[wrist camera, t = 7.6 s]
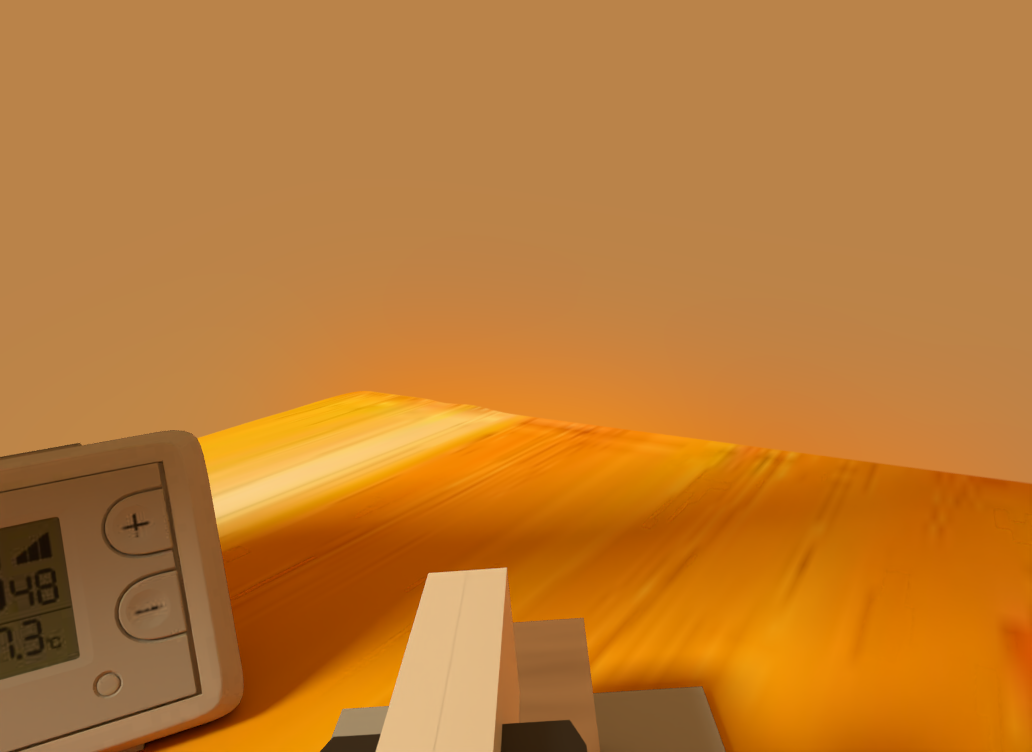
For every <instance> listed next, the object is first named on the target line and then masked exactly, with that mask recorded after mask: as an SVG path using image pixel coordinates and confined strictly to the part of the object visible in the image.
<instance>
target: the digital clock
mask: <svg viewBox="0 0 1032 752" xmlns="http://www.w3.org/2000/svg"><path fill="white" fill-rule="evenodd" d="M243 689H244V680H243V672H242V665H241V659H240V653H239V648H238V642H237V636H236V631H235V625H234V620H233V614H232V608H231V603H230V597H229V591H228V586H227V580H226V575H225V569H224V563H223V558H222V552H221V546H220V541H219V535H218V529H217V524H216V518H215V513H214V507H213V501H212V496H211V490H210V484H209V479H208V474H207V469H206V464H205V460H204V455H203V452H202V449H201V445H200V443H199V441H198V439H197V438H196V437H195V436H194V435H193V434H191V433H188V432H185V431H177V430H170V431H162V432H155V433H150V434H144V435H139V436H133V437H127V438H122V439H116V440H111V441H105V442H99V443H94V444H88V445H83V446H82V445H81V444H80V443H77V444H71V445H65V446H60V447H54V448H48V449H43V450H37V451H32V452H27V453H20V454H15V455H9V456H4V457H0V752H138V751H141V750H143V749H144V748H145V743H147V742H150V741H153V740H156V739H159V738H162V737H165V736H168V735H171V734H174V733H177V732H180V731H183V730H186V729H189V728H193V727H196V726H199V725H202V724H205V723H208V722H211V721H213V720H216V719H218V718H221V717H223V716H224V715H226V714H228V713H229V712H231V711H232V710H234V709H235V708H236V707H237V706H238V705H239V703H240V701H241V699H242V696H243Z"/></svg>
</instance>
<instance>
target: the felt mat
mask: <svg viewBox="0 0 1032 752" xmlns="http://www.w3.org/2000/svg"><path fill="white" fill-rule="evenodd" d="M593 697H594V705H595V713H596V721H597V729H598V737H599V745H600V752H726V751H725V748H724V745H723V743H722V740H721V737H720V734H719V732H718V729H717V726H716V723H715V721H714V718H713V715H712V712H711V709H710V707H709V704H708V701H707V698H706V696H705V693H704V690H703V687H702V686H701V687H685V688H669V689H653V690H637V691H622V692H606V693H593ZM388 708H389V706H384V707H368V708H353V709H343V710H342V712H341V715H340V717H339V720H338V722H337V725H336V728H335V730H334V733H333V735H332V738H333V737H337V736H354V735H370V734H381V732H382V728H383V725H384V722H385V718H386V715H387V711H388ZM332 738H331V739H332Z"/></svg>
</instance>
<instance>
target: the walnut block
mask: <svg viewBox="0 0 1032 752" xmlns="http://www.w3.org/2000/svg"><path fill="white" fill-rule="evenodd" d="M513 632H514V642H515V652H516V662H517V671H518V681H519V691H520V703H519V723H525V722H541V721H557V720H570V721H571V722H572V724H573V725H574V727H575V728H576V730H577V731H578V733H579V734H580V736H581V737H582V739H583V740H584V742H585V743H586V745H587V752H600V745H599V737H598V729H597V721H596V713H595V705H594V697H593V689H592V681H591V673H590V666H589V658H588V650H587V642H586V634H585V626H584V618H575V619H560V620H545V621H531V622H516V623H513Z"/></svg>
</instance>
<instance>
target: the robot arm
mask: <svg viewBox="0 0 1032 752" xmlns="http://www.w3.org/2000/svg"><path fill="white" fill-rule="evenodd" d="M519 703H520V691H519V681H518V671H517V662H516V652H515V642H514V632H513V622H512V613H511V603H510V593H509V583H508V573H507V568H494V569H480V570H466V571H452V572H438V573H428V576H427V579H426V583H425V586H424V590H423V593H422V596H421V600H420V603H419V607H418V610H417V613H416V617H415V620H414V623H413V627H412V630H411V634H410V637H409V640H408V644H407V647H406V651H405V654H404V657H403V661H402V664H401V667H400V671H399V674H398V678H397V681H396V684H395V688H394V691H393V695H392V698H391V701H390V705H389V708H388V711H387V715H386V718H385V722H384V725H383V728H382V732H381V734H370V735H354V736H337V737H333V738H332V739H331V740H330V741H329V742H328V743H327V744H326V746H325V747H324V748H323V749H322V750H321V751H320V752H587V745H586V743H585V742H584V740H583V739H582V737H581V736H580V734H579V733H578V731H577V730H576V728H575V727H574V725H573V724H572V722H571V721H570V720H557V721H541V722H525V723H519Z"/></svg>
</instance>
